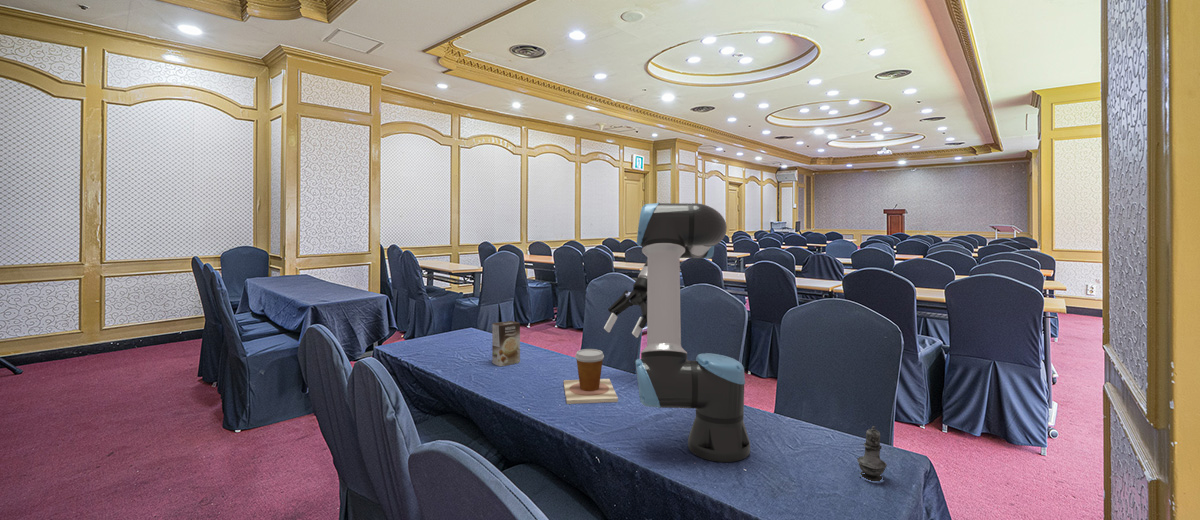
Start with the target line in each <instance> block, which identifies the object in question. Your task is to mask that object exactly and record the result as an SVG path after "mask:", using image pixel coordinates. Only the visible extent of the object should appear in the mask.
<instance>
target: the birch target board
mask: <svg viewBox="0 0 1200 520" xmlns="http://www.w3.org/2000/svg"><path fill="white" fill-rule="evenodd" d="M563 389H564V394H565V402H566V404H567V405H574V404H576V405H577V404H596V403H597V404H599V403H600V404H601V403H604V402H605V403H618V402H619V397H618V395H617V393H616V391H615V389H614V386H613V384H612V382H611V379H610V378H600V385H599V389H598V390H595V391H584V390H581V389H580V383H579V379H565V380H563Z"/></svg>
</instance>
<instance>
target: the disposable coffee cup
mask: <svg viewBox="0 0 1200 520" xmlns="http://www.w3.org/2000/svg"><path fill="white" fill-rule="evenodd" d="M574 357H575V360H576V366H577V372H578V380H579V383H580V389H581V390H584V391H595V390H598V389H599V385H600V379H601V376H602V375H601V374H602V370H603V369H602V367H603V360H604V358H605V355H604V353H603V351H602V350H600V349H595V348H584V349H583V348H582V349H579V350H578V351H576V353H575V356H574Z"/></svg>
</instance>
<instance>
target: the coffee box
mask: <svg viewBox="0 0 1200 520" xmlns="http://www.w3.org/2000/svg"><path fill="white" fill-rule="evenodd" d="M491 330H492V339H491V340H492V343H491V344H492V348H491V349H492V352H491V353H492V355H491V356H492V358H491V361H492V365H494V366H495V365H496V366H497V367H505V366H510V365H516V364H519V362H520V363H521V322H518V321H515V320H514V321H513V320H508V321H500V322H499V321H498V322H492V329H491ZM515 363H516V364H515Z"/></svg>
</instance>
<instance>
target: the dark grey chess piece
mask: <svg viewBox="0 0 1200 520" xmlns="http://www.w3.org/2000/svg"><path fill="white" fill-rule="evenodd" d="M865 433H866V434H865V442H864V443H863V446H864V455H862V456H859V457H858V458H857V463H858V466H859V468H860V470H861V471H860V472H861V473H860V472H859V473H860V474H861V475H862V477H864V478H866V479H868V480H871V481H880V480H881V479H882V477H883V476H882V474H883V473H884V472H885V470H886V468H887V465H888V464H887V463H886V462H885V461H884V460H882V459H881V455H880V454H881V449H882V448H883V447H882V445H881V433H880V431H878V429H876V426H875V425H872V426H871V428H869V429H867V430H866V432H865ZM862 473H865V474H862ZM880 475H881V476H880Z"/></svg>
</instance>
